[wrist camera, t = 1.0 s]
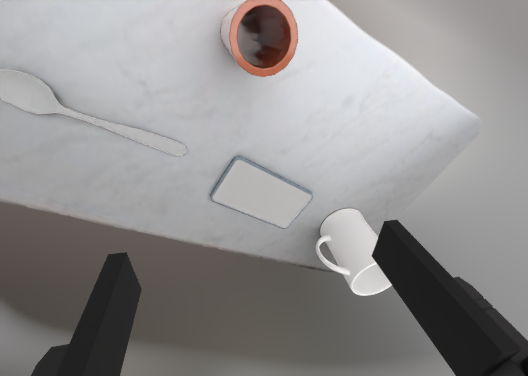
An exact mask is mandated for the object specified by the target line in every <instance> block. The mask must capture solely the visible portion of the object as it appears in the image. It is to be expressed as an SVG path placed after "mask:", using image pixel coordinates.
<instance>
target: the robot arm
mask: <svg viewBox="0 0 528 376" xmlns="http://www.w3.org/2000/svg"><path fill="white" fill-rule="evenodd" d="M372 257H373V259H374V260H375V262H376V263H377V264H378V266H379V267H380V269H381V270H382V272H383V273H384V274H385V276H386V277H387V279H388V280H389V281H390V283H391V284H392V286H393V287H394V289H395V290H396V291H397V293H398V294H399V296H400V297H401V298H402V300H403V301H404V303H405V304H406V306H407V307H408V308H409V310H410V311H411V312H412V314H413V315H414V317H415V318H416V320H417V321H418V322H419V324H420V325H421V327H422V328H423V329H424V331H425V332H426V334H427V335H428V337H429V338H430V339H431V341H432V342H433V344H434V345H435V347H436V348H437V349H438V351H439V352H440V354H441V355H442V356H443V358H444V359H445V361H446V362H447V363H448V365H449V366H450V368H451V369H452V371H453V372H454V373H455V375H456V376H528V341H527V340H526V339H525V338H524V337H523V336H522V335H521V334H520V333H519V332H518V331H517V330H516V329H515V328H514V327H513V326H512V325H511V324H510V323H509V322H508V321H507V320H506V319H505V318H504V317H503V316H502V315H501V314H500V313H499V312H498V311H497V310H496V309H494V308H493V307H492V305H491V304H490V303H489V302H488V301H487V300H486V299H484V298H483V296H482V295H481V294H480V293H479V292H478V291H477V290H476V289H475V288H474V287H473V286H472V285H470V284H468V283H467V282H466V281H464V280H463V279H461V278H460V277H455V278H453V277H452V276H451V275H450V274H449V273H448V272H447V271H446V270H445V269H444V268H443V267H442V266H441V265H440V264H439V263H438V262H437V261H436V260H435V259H434V258H433V257H432V256H431V254H430V253H429V252H428V251H427V250H426V249H425V248H424V247H423V246H422V245H421V244H420V243H419V242H418V241H417V240H416V239H415V238H414V237H413V236H412V235H411V234H410V233H409V232H408V231H407V230H406V229H405V228H404V227H403V226H402V225H401V223H400V222H398V220H391V221H384V224H383V226H382V229H381V232H380V234H379V237H378V240H377V243H376V245H375V248H374V251H373V253H372ZM140 293H141V287H140V284H139V282H138V279H137V277H136V275H135V272H134V270H133V267H132V265H131V262H130V260H129V258H128V255H127V253H117V254H109V255H108V256H107V259H106V261H105V263H104V266H103V268H102V270H101V272H100V275H99V278H98V280H97V282H96V284H95V286H94V289H93V291H92V293H91V295H90V298H89V300H88V302H87V305H86V307H85V309H84V312H83V314H82V316H81V319H80V321H79V323H78V325H77V328H76V330H75V333H74V335H73V337H72V339H71V342H70V344H67V345H61V346H56V347H51V348H50V349H49V351H48V352H47V353H46V354H45V355H44V357H43V358H42V359H41V360H40V361H39V362H38V364H37V365H36V367H35V369H34V371H33V373H32V375H31V376H120V373H121V369H122V365H123V361H124V357H125V353H126V349H127V345H128V341H129V337H130V333H131V329H132V325H133V321H134V317H135V313H136V309H137V305H138V301H139V297H140Z"/></svg>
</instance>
